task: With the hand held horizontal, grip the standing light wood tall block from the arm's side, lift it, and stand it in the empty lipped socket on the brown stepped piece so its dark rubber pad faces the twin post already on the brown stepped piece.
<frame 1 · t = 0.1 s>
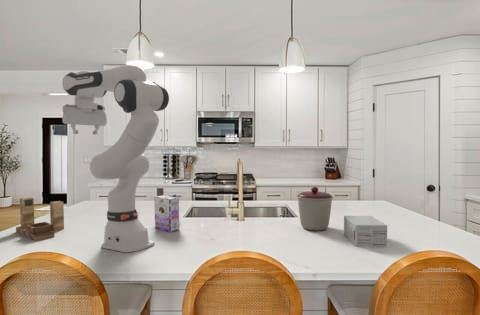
hand: (85, 134, 153), 48 cm above the countertop, tool pointing down, fingers open, 8 cm apart
canister: (314, 228, 158), on the countertop
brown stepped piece: (34, 234, 149), on the countertop
wooden block: (166, 219, 180), on the countertop
light wood tall block: (57, 229, 158), on the countertop
supplement box: (364, 241, 137), on the countertop
candy box: (167, 229, 158), on the countertop
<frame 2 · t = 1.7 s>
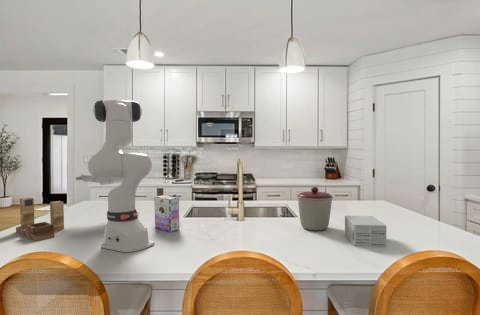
hand: (80, 179, 166), 24 cm above the countertop, tool horizontal, fingers open, 8 cm apart
nothing on the countertop moved.
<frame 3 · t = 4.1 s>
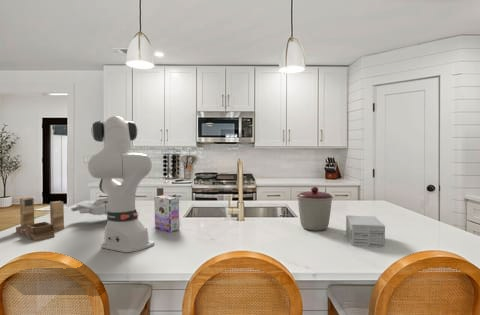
hand: (75, 210, 165), 8 cm above the countertop, tool horizontal, fingers open, 8 cm apart
nothing on the countertop moved.
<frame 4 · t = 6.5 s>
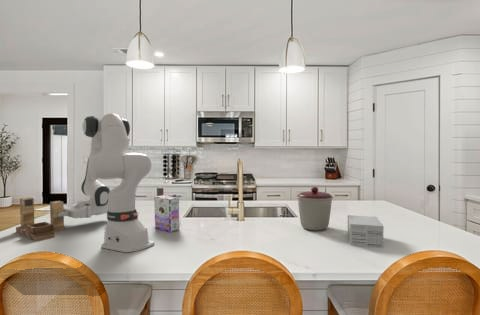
hand: (55, 213, 157), 8 cm above the countertop, tool horizontal, fingers closed on light wood tall block, 4 cm apart
light wood tall block: (57, 229, 158), on the countertop, touching gripper
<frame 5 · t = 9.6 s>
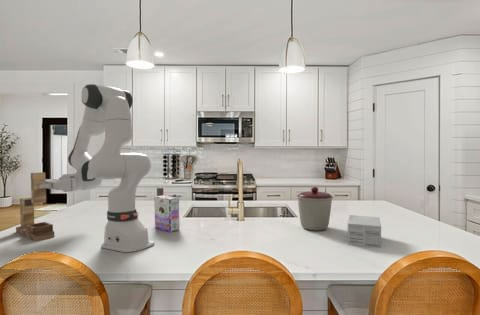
hand: (36, 185, 144), 24 cm above the countertop, tool horizontal, fingers closed on light wood tall block, 4 cm apart
light wood tall block: (38, 202, 145), point 16 cm above the countertop, touching gripper
when the fingers open (12 cm above the countertop, at t = 12.8 s): light wood tall block drops 1 cm, resting on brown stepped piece.
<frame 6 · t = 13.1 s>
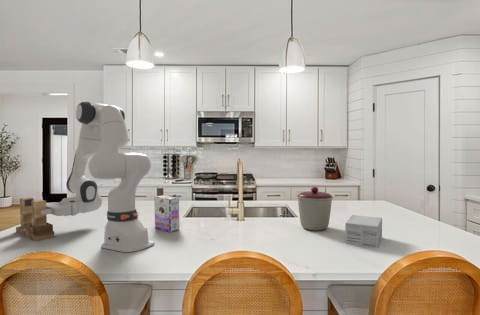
hand: (36, 211, 144), 12 cm above the countertop, tool horizontal, fingers open, 7 cm apart
light wood tall block: (39, 230, 145), point 3 cm above the countertop, touching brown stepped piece
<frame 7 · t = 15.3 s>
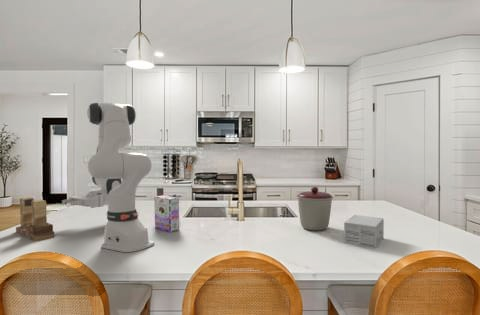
hand: (67, 202, 154), 14 cm above the countertop, tool horizontal, fingers open, 8 cm apart
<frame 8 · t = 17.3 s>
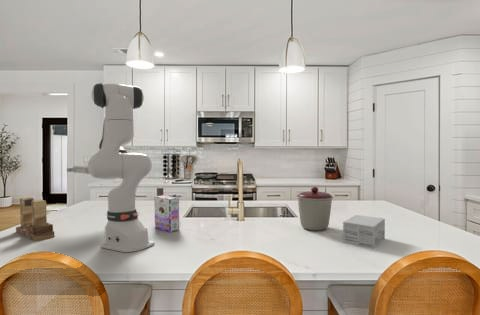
hand: (71, 170, 155), 30 cm above the countertop, tool horizontal, fingers open, 8 cm apart
at the end: light wood tall block 0.0 cm from the target spot on the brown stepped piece, point 2.7 cm above the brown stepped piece's base; light wood tall block tilted 0°; the gripper is holding nothing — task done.
